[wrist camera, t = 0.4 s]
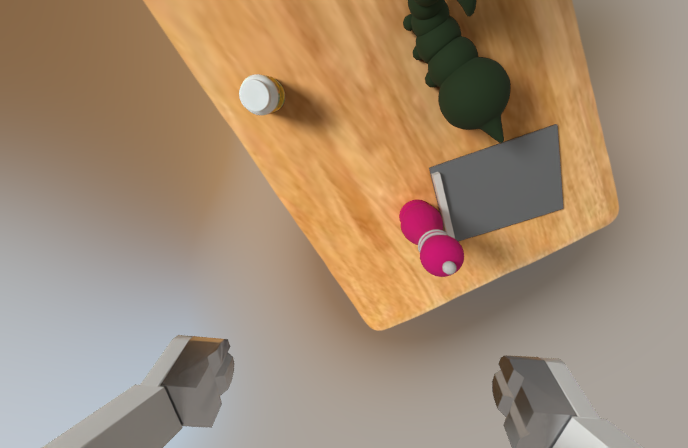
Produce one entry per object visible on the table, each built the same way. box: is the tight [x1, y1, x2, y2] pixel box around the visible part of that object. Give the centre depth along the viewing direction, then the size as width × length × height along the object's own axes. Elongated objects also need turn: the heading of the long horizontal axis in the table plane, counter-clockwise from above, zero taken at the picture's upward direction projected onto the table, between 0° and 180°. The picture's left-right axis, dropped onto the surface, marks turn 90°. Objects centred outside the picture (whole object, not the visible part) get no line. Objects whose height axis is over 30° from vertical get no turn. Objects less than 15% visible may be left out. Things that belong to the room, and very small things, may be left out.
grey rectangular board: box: [429, 124, 563, 241], centre depth 56 cm, size 22×16×1 cm
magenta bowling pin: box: [399, 200, 464, 277], centre depth 49 cm, size 7×7×20 cm
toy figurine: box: [403, 0, 510, 143], centre depth 40 cm, size 9×19×25 cm
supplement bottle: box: [239, 74, 285, 115], centre depth 45 cm, size 5×5×10 cm
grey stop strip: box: [431, 172, 455, 238], centre depth 56 cm, size 1×14×2 cm, turn 19°
